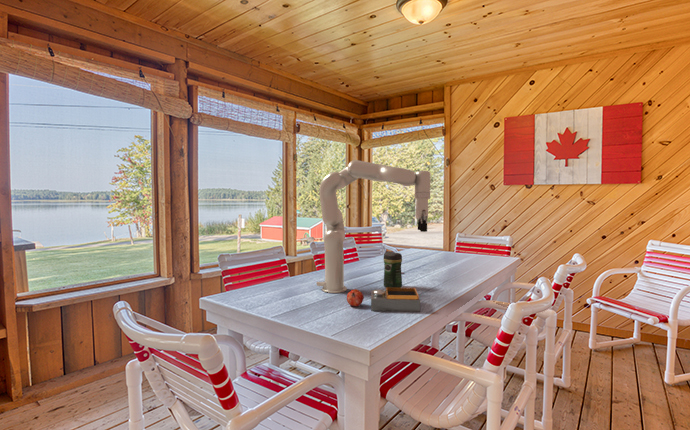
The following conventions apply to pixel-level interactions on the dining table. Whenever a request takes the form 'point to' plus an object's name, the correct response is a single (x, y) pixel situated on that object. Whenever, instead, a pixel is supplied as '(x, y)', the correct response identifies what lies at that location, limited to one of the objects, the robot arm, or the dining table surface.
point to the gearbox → (395, 300)
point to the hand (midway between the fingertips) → (422, 230)
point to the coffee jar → (392, 270)
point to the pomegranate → (355, 297)
